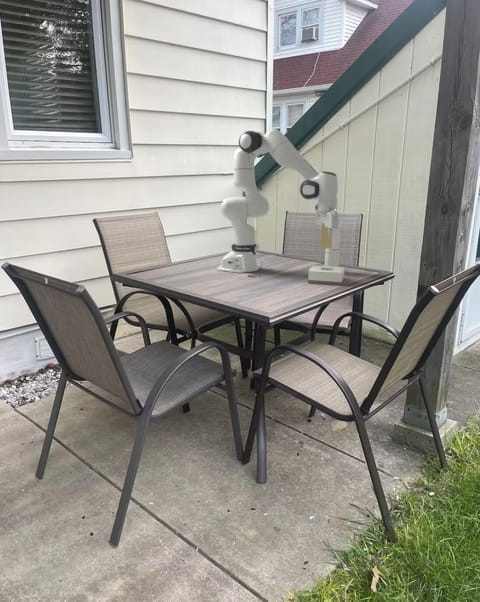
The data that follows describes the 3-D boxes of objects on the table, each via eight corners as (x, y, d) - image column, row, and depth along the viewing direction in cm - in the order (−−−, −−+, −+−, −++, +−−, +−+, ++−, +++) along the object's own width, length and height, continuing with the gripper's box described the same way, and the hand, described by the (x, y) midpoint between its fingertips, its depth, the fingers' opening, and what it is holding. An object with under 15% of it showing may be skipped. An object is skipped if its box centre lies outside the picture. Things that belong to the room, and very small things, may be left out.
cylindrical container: (338, 273, 250) (340, 225, 243) (324, 273, 252) (326, 225, 244) (338, 270, 257) (340, 224, 250) (324, 270, 258) (326, 223, 251)
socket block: (308, 282, 232) (308, 270, 231) (312, 276, 244) (312, 265, 243) (341, 285, 228) (342, 272, 226) (344, 278, 240) (344, 267, 238)
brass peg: (320, 248, 231) (321, 223, 228) (323, 247, 234) (324, 222, 231) (328, 248, 229) (329, 223, 226) (331, 247, 232) (332, 222, 229)
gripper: (342, 208, 217) (341, 238, 221) (325, 205, 236) (325, 233, 240) (329, 208, 216) (328, 239, 219) (313, 205, 235) (313, 234, 239)
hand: (326, 236), depth 230 cm, fingers closed on brass peg, 6 cm apart
